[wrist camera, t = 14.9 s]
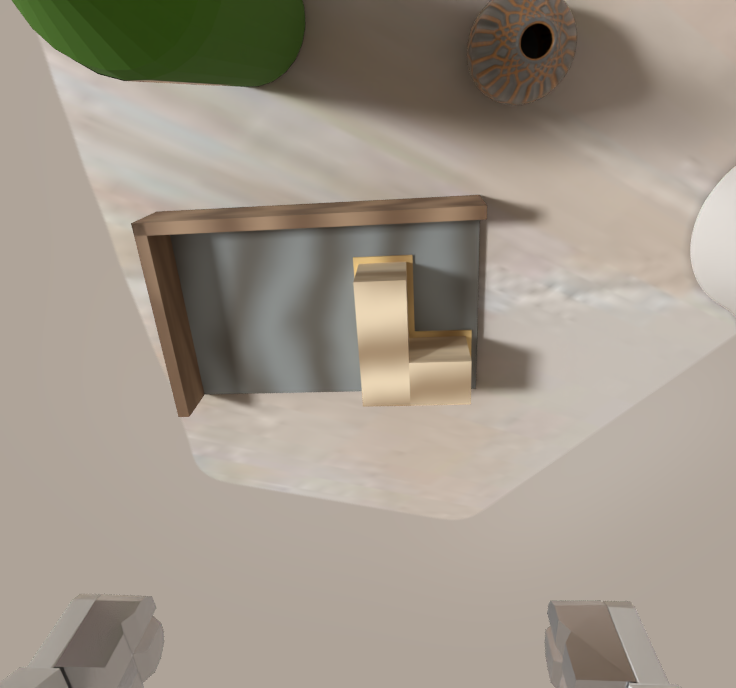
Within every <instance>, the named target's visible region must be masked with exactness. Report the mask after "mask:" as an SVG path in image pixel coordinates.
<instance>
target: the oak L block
mask: <svg viewBox="0 0 736 688" xmlns="http://www.w3.org/2000/svg"><path fill="white" fill-rule="evenodd" d="M353 286H354V298H355V311H356V324H357V336H358V349H359V362H360V374H361V387H362V399H363V406H414V405H465V404H471V363H472V361H471V357H470V353H469V349H468V344H467V340H466V336H450V337H418V338H409V328H408V300H407V272H406V262H386V263H363V264H359V265H358V268H357V271H356V275H355V278H354V281H353Z"/></svg>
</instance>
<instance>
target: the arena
mask: <svg viewBox="0 0 736 688" xmlns="http://www.w3.org/2000/svg"><path fill="white" fill-rule="evenodd" d="M484 219H487V205H486V203H485V202H484V201H483V199H482V198H481V196H480V195H469V196H450V197H431V198H411V199H392V200H373V201H354V202H335V203H316V204H296V205H277V206H258V207H239V208H220V209H201V210H181V211H162V212H155V213H153V214H151V215H149V216H146V217H144V218H142V219H140V220H138V221H136V222H133V223H131V225H132V229H133V233H134V237H135V241H136V245H137V249H138V253H139V257H140V261H141V266H142V270H143V274H144V278H145V282H146V286H147V290H148V294H149V298H150V302H151V306H152V310H153V314H154V318H155V323H156V327H157V331H158V335H159V339H160V343H161V347H162V351H163V355H164V359H165V363H166V367H167V371H168V375H169V380H170V384H171V388H172V392H173V396H174V400H175V404H176V408H177V412H178V416H179V417H189V416H190V415H191V414H192V412H193V411H194V409H195V408H196V406H197V405H198V403H199V402H200V400H201V399H202V397H203V396H204V394H248V393H296V392H344V391H362V387H361V374H360V362H359V349H358V336H357V324H356V311H355V298H354V286H353V281H354V278H355V275H356V271H357V268H358V265H359V264H363V263H386V262H406V272H407V300H408V328H409V338H418V337H450V336H466V340H467V344H468V349H469V353H470V357H471V361H472V363H471V389H476V358H477V316H478V274H479V232H480V220H484Z"/></svg>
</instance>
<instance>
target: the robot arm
mask: <svg viewBox="0 0 736 688" xmlns="http://www.w3.org/2000/svg"><path fill="white" fill-rule="evenodd" d="M690 255H691V263H692V268H693V272H694V275H695V277H696V279H697V281H698V283H699V285H700V287H701V288H702V289H703V291H704V292H705V293H706V294H707V295H708V296H709V297H710V298H711V299H712V300H713V301H714V302H716V303H717V304H719V305H720V306H722V307H723V308H725V309H727V310H728V311H729V312H731V313H732V314H733V315H734V316H735V317H736V166H735V167H734V168H732V169H731V170H730V171H729V172H728V173H727V174H726V175H725V176H724V177H723V178H722V179H721V180H720V182H719V183H718V184H717V185H716V186H715V188H714V189H713V190H712V192H711V193H710V195H709V196H708V198H707V199H706V201H705V202H704V204H703V206H702V208H701V210H700V212H699V214H698V217H697V219H696V222H695V225H694V229H693V233H692V238H691V247H690ZM155 609H156V605H155V603H154V600H153V598H152V596H133V595H110V594H109V595H108V594H79V595H78V596H77V597H75V598H74V599H73V600H72V601H71V602H70V604H69V605H68V607H67V608H66V610H65V611H64V613H63V614H62V616H61V617H60V619H59V620H58V622H57V623H56V625H55V626H54V628H53V629H52V631H51V632H50V634H49V635H48V637H47V638H46V640H45V641H44V643H43V644H42V646H41V647H40V649H39V650H38V652H37V653H36V655H35V656H34V657H33V659H32V660H31V662H30V664H29V665H28V666H27V667H20V668H18V669H17V670H15V671H14V672H13V673H11V674H10V675H9V676H7V677H6V678H5V679H3V680H2V681H0V688H144V686H143V682H144V681H145V680H147V679H148V678H149V677H150V676H151V675H152V674H153V673H155V671H156V669H157V666H158V664H159V661H160V659H161V654H162V650H163V645H164V631H163V627H162V624H161V622H160V621H158V620H157V619H156V618H155V617H154V616H153V613H154V611H155ZM547 614H548V618H549V622H550V626H549V627H548V628H547V629H546V631H545V655H546V662H547V667H548V672H549V677H550V681H551V683H552V684H553V685H554V686H555V687H556V688H682V687H680V686H679V685H678V684H669V682H668V679H667V677H666V675H665V673H664V670H663V668H662V666H661V664H660V662H659V659H658V657H657V655H656V653H655V650H654V648H653V646H652V644H651V642H650V639H649V637H648V635H647V633H646V631H645V629H644V626H643V624H642V622H641V619H640V618H639V615H638V613H637V611H636V608H635V606H634V605H633V604H632V603H631V602H628V601H603V602H602V601H550V603H549V605H548V612H547Z"/></svg>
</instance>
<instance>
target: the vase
mask: <svg viewBox="0 0 736 688" xmlns="http://www.w3.org/2000/svg"><path fill="white" fill-rule="evenodd" d="M576 43H577V31H576V24H575V20H574V17H573V15H572V12H571V10H570V8H569V7H568V5H567V4H566V3H565V1H564V0H491V1H490V2H489V3H488V4H487V5H486V6H485V7H484V8H483V10H482V11H481V12H480V14H479V15H478V17H477V18H476V20H475V22H474V24H473V26H472V29H471V32H470V35H469V39H468V44H467V63H468V68H469V72H470V74H471V77H472V79H473V81H474V83H475V84H476V86H477V87H478V88H479V89H480V91H481V92H482V93H483V94H485V95H486V96H487V97H489V98H490V99H492V100H494V101H496V102H499V103H502V104H507V105H522V104H527V103H531V102H533V101H536V100H538V99H540V98H542V97H544V96H545V95H547V94H548V93H549V92H550V91H552V90H553V89H554V88H555V87H556V86H557V85H558V84H559V83H560V82H561V80H562V79H563V78H564V76H565V75H566V73H567V71H568V69H569V67H570V65H571V63H572V60H573V58H574V54H575V50H576Z"/></svg>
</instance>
